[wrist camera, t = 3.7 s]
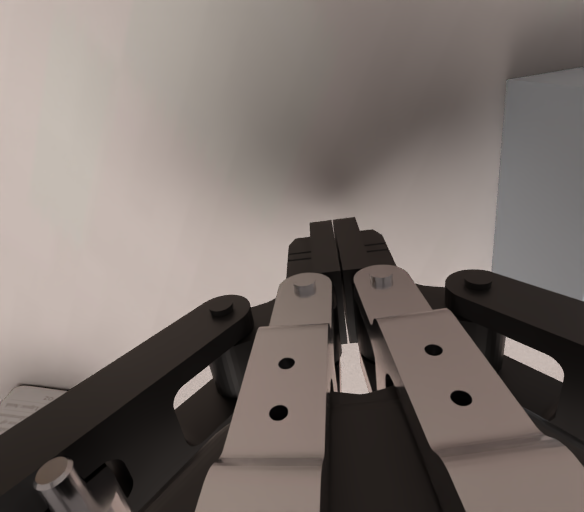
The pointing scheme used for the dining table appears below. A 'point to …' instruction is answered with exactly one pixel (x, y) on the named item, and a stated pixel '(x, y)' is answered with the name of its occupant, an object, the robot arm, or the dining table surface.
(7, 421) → the skincare box
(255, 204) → the dining table surface
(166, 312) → the dining table surface
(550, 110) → the block
